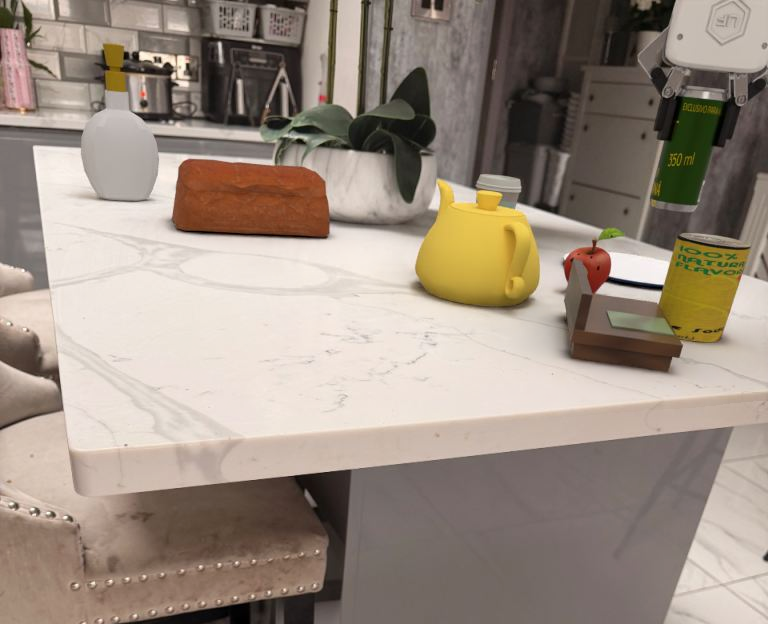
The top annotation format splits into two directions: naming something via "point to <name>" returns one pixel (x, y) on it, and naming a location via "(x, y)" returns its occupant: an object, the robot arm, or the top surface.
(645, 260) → the plate
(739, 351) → the top surface
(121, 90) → the white rounded bottle
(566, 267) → the apple
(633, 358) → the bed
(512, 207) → the coffee cup
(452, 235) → the teapot
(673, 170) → the beer can
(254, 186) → the bread
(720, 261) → the beverage can
